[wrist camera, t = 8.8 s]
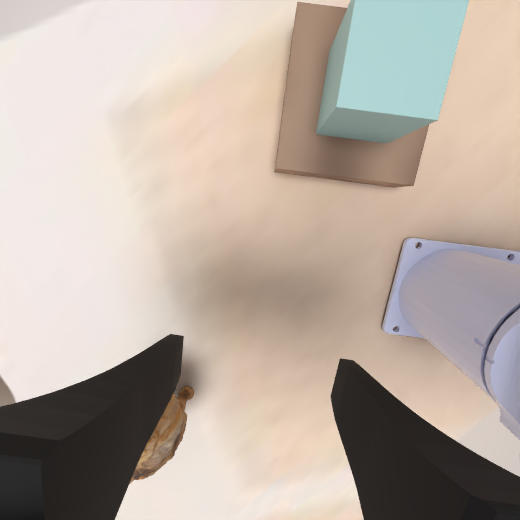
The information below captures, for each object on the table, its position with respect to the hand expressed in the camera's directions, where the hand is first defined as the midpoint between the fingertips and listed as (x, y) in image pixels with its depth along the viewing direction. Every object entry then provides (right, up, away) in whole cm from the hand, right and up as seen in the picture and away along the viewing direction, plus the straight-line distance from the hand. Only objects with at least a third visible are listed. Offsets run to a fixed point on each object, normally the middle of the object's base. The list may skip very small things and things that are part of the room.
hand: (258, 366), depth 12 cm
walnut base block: (+6, +15, +6) cm, 18 cm away
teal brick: (+6, +15, +4) cm, 16 cm away
